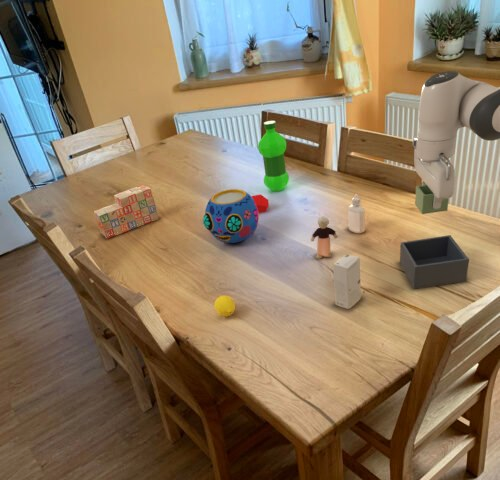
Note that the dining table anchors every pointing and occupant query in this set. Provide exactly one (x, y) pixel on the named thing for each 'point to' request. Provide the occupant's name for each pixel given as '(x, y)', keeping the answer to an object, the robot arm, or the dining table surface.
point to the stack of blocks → (127, 211)
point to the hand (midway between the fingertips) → (431, 201)
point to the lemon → (224, 305)
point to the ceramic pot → (231, 216)
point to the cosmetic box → (347, 281)
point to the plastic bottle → (273, 158)
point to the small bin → (428, 200)
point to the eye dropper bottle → (356, 216)
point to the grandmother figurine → (323, 237)
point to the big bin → (433, 262)
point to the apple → (261, 203)
